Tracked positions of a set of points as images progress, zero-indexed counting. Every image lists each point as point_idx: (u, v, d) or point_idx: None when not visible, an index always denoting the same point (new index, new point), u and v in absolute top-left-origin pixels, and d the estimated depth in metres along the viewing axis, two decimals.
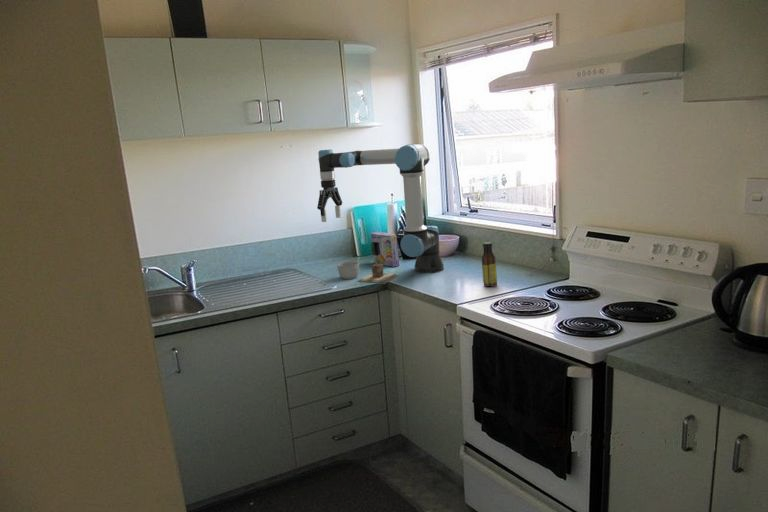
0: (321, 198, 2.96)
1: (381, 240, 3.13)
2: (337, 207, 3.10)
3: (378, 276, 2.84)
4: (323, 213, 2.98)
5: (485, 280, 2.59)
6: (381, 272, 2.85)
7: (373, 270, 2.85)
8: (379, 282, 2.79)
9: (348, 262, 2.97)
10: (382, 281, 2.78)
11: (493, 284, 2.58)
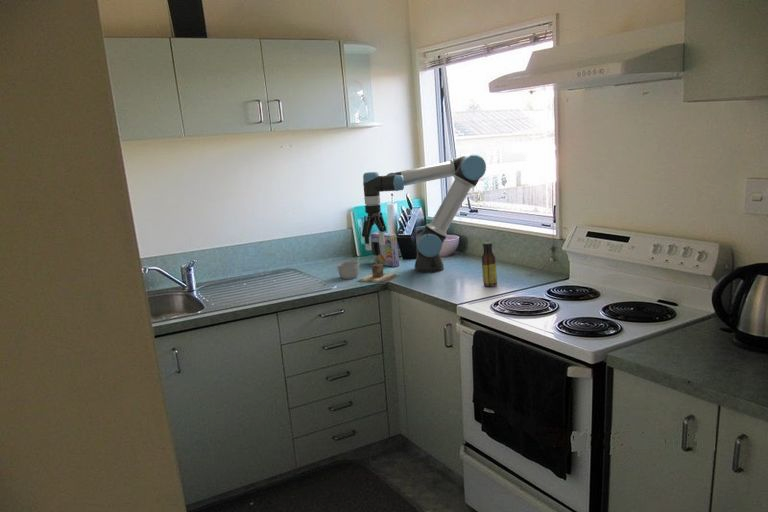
0: (366, 225, 2.74)
1: None
2: (381, 233, 2.88)
3: (378, 276, 2.84)
4: (368, 241, 2.76)
5: (485, 280, 2.59)
6: (381, 272, 2.85)
7: (373, 270, 2.85)
8: (379, 282, 2.79)
9: (348, 262, 2.97)
10: (382, 281, 2.78)
11: (493, 284, 2.58)
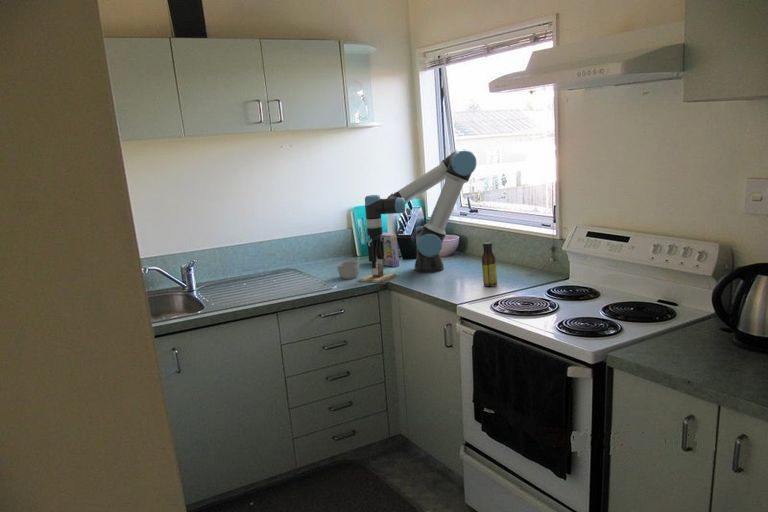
0: (370, 251, 2.78)
1: None
2: (379, 261, 2.87)
3: (378, 276, 2.84)
4: (375, 266, 2.82)
5: (485, 280, 2.59)
6: (381, 272, 2.85)
7: None
8: (379, 282, 2.79)
9: (348, 262, 2.97)
10: (382, 281, 2.78)
11: (493, 284, 2.58)
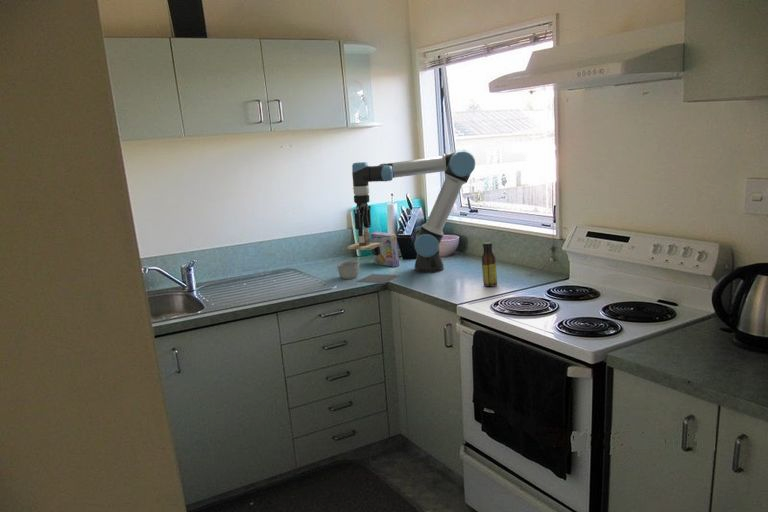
0: (357, 218, 2.78)
1: (381, 240, 3.13)
2: (365, 229, 2.86)
3: (364, 244, 2.83)
4: (361, 233, 2.81)
5: (485, 280, 2.59)
6: (367, 240, 2.85)
7: None
8: (379, 282, 2.79)
9: (348, 262, 2.97)
10: (368, 248, 2.78)
11: (493, 284, 2.58)
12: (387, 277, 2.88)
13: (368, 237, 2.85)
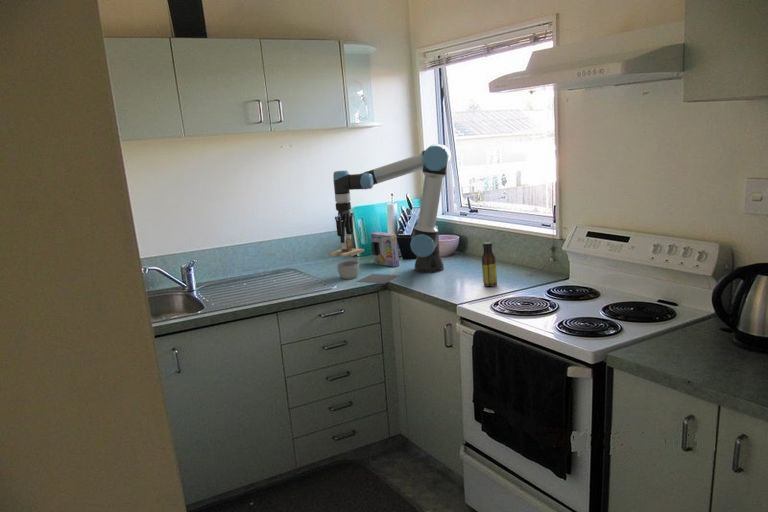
0: (339, 225, 2.84)
1: (381, 240, 3.13)
2: (348, 236, 2.92)
3: (346, 250, 2.90)
4: (343, 240, 2.88)
5: (485, 280, 2.59)
6: (350, 247, 2.91)
7: None
8: (379, 282, 2.79)
9: (348, 262, 2.97)
10: (350, 255, 2.84)
11: (493, 284, 2.58)
12: (387, 277, 2.88)
13: (350, 243, 2.91)
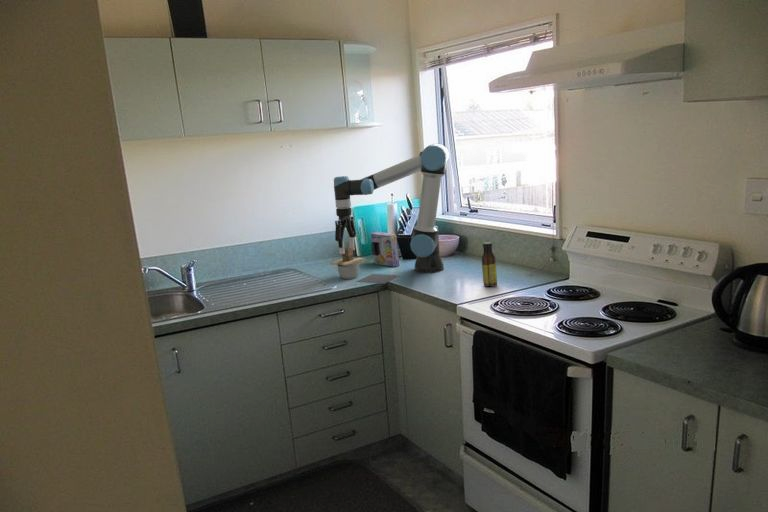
0: (338, 229, 2.83)
1: (381, 240, 3.13)
2: (351, 239, 2.95)
3: (348, 260, 2.91)
4: (341, 245, 2.86)
5: (485, 280, 2.59)
6: (351, 256, 2.92)
7: (343, 254, 2.91)
8: (379, 282, 2.79)
9: None
10: (351, 264, 2.85)
11: (493, 284, 2.58)
12: (387, 277, 2.88)
13: (351, 253, 2.92)
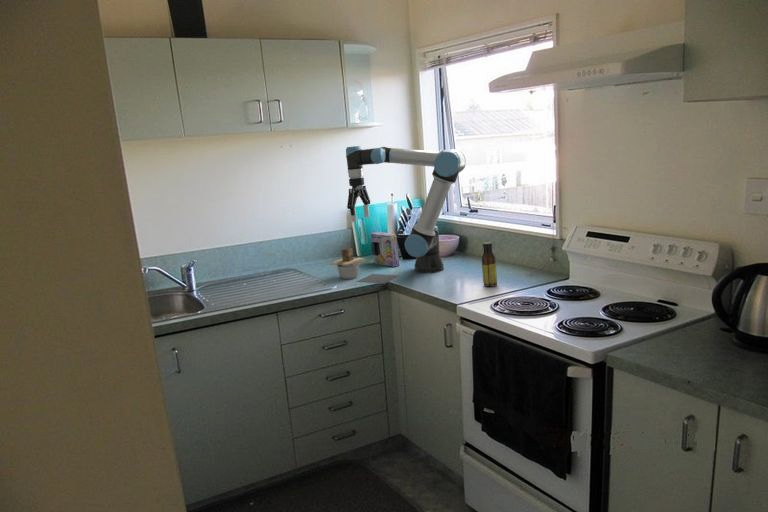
0: (351, 197, 2.83)
1: (381, 240, 3.13)
2: (365, 206, 2.97)
3: (348, 260, 2.90)
4: (353, 212, 2.85)
5: (485, 280, 2.59)
6: (351, 256, 2.92)
7: (343, 254, 2.91)
8: (379, 282, 2.79)
9: None
10: (351, 264, 2.85)
11: (493, 284, 2.58)
12: (387, 277, 2.88)
13: (351, 253, 2.92)
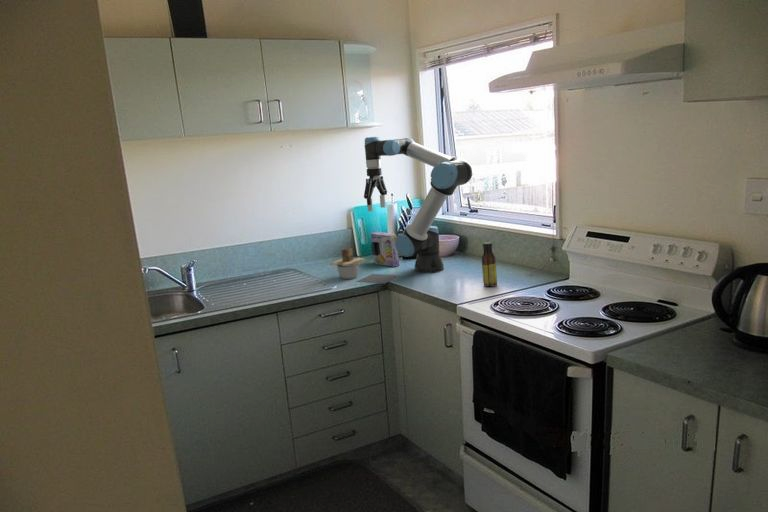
0: (368, 187, 2.87)
1: (381, 240, 3.13)
2: (382, 196, 3.01)
3: (348, 260, 2.90)
4: (369, 202, 2.89)
5: (485, 280, 2.59)
6: (351, 256, 2.91)
7: (343, 254, 2.91)
8: (379, 282, 2.79)
9: None
10: (351, 264, 2.84)
11: (493, 284, 2.58)
12: (387, 277, 2.88)
13: (351, 253, 2.92)
